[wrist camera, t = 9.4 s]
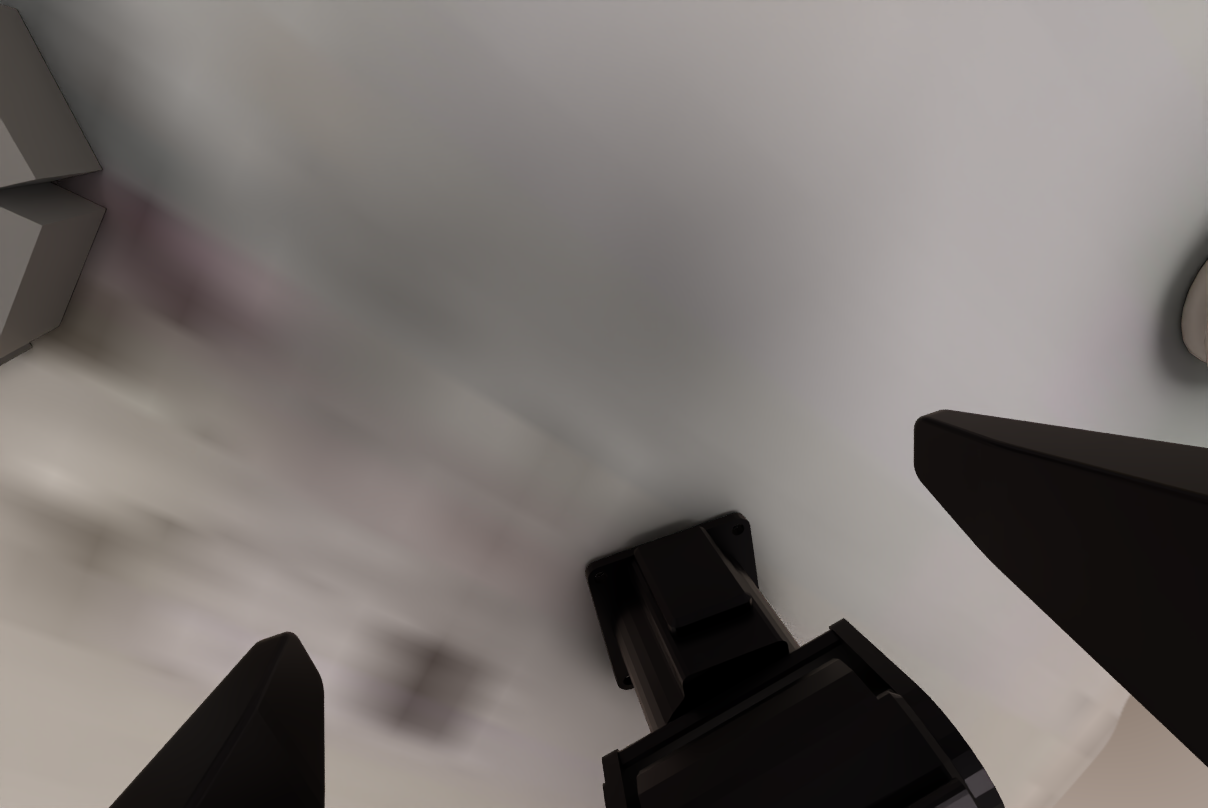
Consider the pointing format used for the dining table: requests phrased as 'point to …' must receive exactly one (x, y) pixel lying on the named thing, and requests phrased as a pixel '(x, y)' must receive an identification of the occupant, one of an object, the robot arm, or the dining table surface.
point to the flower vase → (1197, 316)
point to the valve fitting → (37, 193)
